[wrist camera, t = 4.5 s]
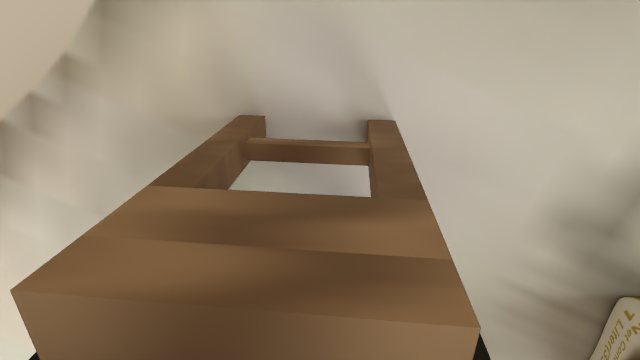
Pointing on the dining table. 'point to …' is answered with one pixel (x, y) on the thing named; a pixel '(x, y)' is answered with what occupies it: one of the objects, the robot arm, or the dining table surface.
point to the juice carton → (621, 332)
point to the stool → (258, 265)
